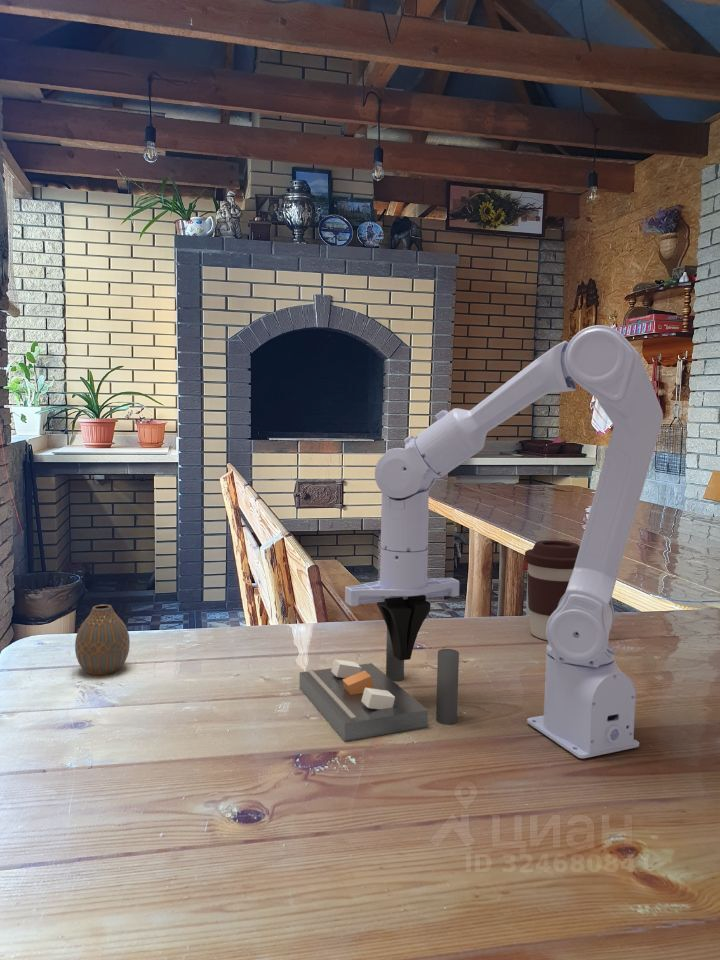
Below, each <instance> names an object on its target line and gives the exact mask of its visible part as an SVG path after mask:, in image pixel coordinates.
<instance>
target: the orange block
mask: <svg viewBox="0 0 720 960" xmlns="http://www.w3.org/2000/svg"><path fill="white" fill-rule="evenodd" d="M342 681H343V684H344V688H345V690H346V691H347V692H348V693H349V694H350V695H353V694H360V693H364V689H365V688H372V689H374V686H373V682H372V678H371V676H370V675H369V674H368V673H367V672H366V671H362V672H360V673H357V674H355V675H352V676H350V677H348V678H345V679H343V680H342Z"/></svg>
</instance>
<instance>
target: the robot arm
mask: <svg viewBox="0 0 720 960" xmlns="http://www.w3.org/2000/svg"><path fill="white" fill-rule="evenodd" d="M576 384H578V385H579V386H580V387H581V388H582V389H583V390H585V391H586V392H587V393H589V394H590V395H592V396H593V398H595V399H596V401H597V403H598V404H599V406H600V407H601V408H602V410H603V412H604V413H605V414H606V416H607V417H608V419H609V420H610V421H611V424H612V431H611V434H610V437H609V442H608V444H607V445H608V446H607V447H606V448H607V449H606V451H605V452H606V453H605V456H604V458H603V459H604V460H603V464H602V467H601V469H600V470H601V471H600V474H599V477H598V481H597V484H596V488H595V491H594V495H593V499H592V503H591V506H590V509H589V512H588V513H589V514H588V516H587V521H586V523H585V526H584V530H583V535H582V538H581V541H580V544H579V546H580V548H579V552H578V555H577V559H576V562H575V566H574V569H573V572H572V575H571V578H570V581H569V583H568V586H567V589H566V592H565V594H564V595H563V596H562V598H561V599H560V601H559V604H558V607H557V609H556V610H555V611H554V612H553V613H552V614H551V616H550V617H549V619H548V621H547V625H546V636H547V640H546V641H547V642H548V644H546V649H545V650H546V653H545V675H544V697H543V698H544V700H543V701H544V703H543V715H539V716H532V717H528V718H527V719H526V723H527V725H530V726H531V727H532V728H534V729H536V730H537V731H538V732H540V733H541V734H543V735H544V736H546V737H548V738H549V739H550V740H552V741H553V742H554V743H556V744H557V745H558V746H560V747H562V748H563V749H565V750H567V751H569V752H570V753H571V754H572V755H574V756H575V757H577V758H579V759H587V758H592V757H597V756H601V755H607V754H611V753H616V752H621V751H626V750H630V749H635V748H639V747H640V742H639V741H638V740H636V739H634V735H635V717H636V701H637V698H636V697H637V696H636V695H637V694H636V692H637V691H636V688H635V684H634V682H633V680H632V679H631V678H630V676H628V675H627V674H626V673H624V672H623V671H622V670H621V669H620V668H619V666H618V665H617V661H616V659H615V658H616V652H615V649H613V648H612V646H611V645H610V643H609V639H610V638H609V637H610V631H611V629H612V627H613V625H614V621H615V610H614V606H613V595H614V594H613V593H614V589H615V586H616V582H617V578H618V575H619V571H620V568H621V565H622V562H623V557H624V554H625V552H626V549H627V548H626V547H627V545H628V542H629V541H628V540H629V537H630V534H631V531H632V527H633V524H634V520H635V517H636V513H637V510H638V507H639V503H640V499H641V497H642V493H643V490H644V485H645V482H646V479H647V475H648V472H649V468H650V465H651V463H652V459H653V456H654V451H655V448H656V444H657V441H658V438H659V434H660V431H661V427H662V424H663V419H664V413H663V409H662V407H661V404H660V402H659V399H658V397H657V395H656V392H655V389H654V386H653V384H652V382H651V379H650V376H649V374H648V371H647V369H646V366H645V364H644V361H643V360H642V356H641V355H640V352H638V351H637V349H636V348H635V347H634V346H633V345H632V344H631V343H630V342H629V341H628V339H627V338H626V337H625V335H623V334H622V333H621V332H620V331H618V329H616V328H613V327H611V326H608V325H603V324H602V325H591V326H588V327H586V328H583V329H581V330H579V331H578V332H577V333H576V334H574V335H573V337H572V338H571V339H570V340H569V342H568V341H567V340H564V341H561V342H560V343H558V344H556V345H555V346H553V347H552V348H550V349H548V350H547V351H546V352H544V353H543V354H542V355H540V356H538V358H536V359H535V360H533V361H532V362H530V363H529V364H528V365H527V366H525V367H524V368H523V369H522V370H520V371H519V372H518V373H516V374H515V375H513V376H512V377H511V378H510V379H509V380H507V381H506V382H505V383H504V384H502V385H501V386H499V387H498V388H497V389H496V390H495V391H493V392H492V393H491V394H489V395H487V397H486V398H484V399H483V400H482V401H480V402H479V403H477V404H476V405H475V406H474V407H472V408H471V409H469V410H468V409H463V408H455V407H454V408H452V409H451V410H450V411H448V410H446V409H442V410H440V411H439V412H437V413H436V414H435V415H434V418H435V419H436V421H434V422H433V423H432V424H430V425H429V426H428V427H426V428H425V429H423V430H422V431H420V432H419V433H418V434H416V435H415V436H413V435H409V436H407V437H406V438H404V440H403V442H404V448H402V447H395V448H394V447H393V448H390V449H387V450H386V451H385V453H384V454H383V455H382V456H381V457H380V458H379V460H378V461H377V463H376V465H375V469H374V479H375V483H376V486H377V487H378V488H379V490H380V491H381V511H380V520H381V521H380V563H379V564H380V565H379V566H380V567H379V568H380V569H379V571H380V573H379V578H380V579H379V580H376V581H371V582H367V583H362V584H357V585H349V586H345V587H344V603H346V604H347V605H348V606H349V607H357V606H359V605H363V604H370V603H376V606H377V607H378V609H379V611H380V613H381V616H382V617H383V620H384V622H385V625H386V629H387V628H388V631H389V635H390V638H391V643H392V648H393V654H394V656H395V657H396V658H397V659H399V660H401V661H402V660H404V661H407V660H411V658H412V654H413V650H414V646H415V643H416V641H417V637H418V634H419V632H420V629H421V627H422V626H423V623H424V621H425V620H426V618H427V617H428V615H429V613H430V612H431V602H430V601H428V600H427V598H434V597H435V598H436V597H446V596H447V597H448V596H450V597H459V596H460V580H458V579H456V578H453V577H433V578H431V577H429V578H428V566H429V563H428V562H429V521H430V519H429V518H430V515H429V514H430V512H429V511H430V510H429V500H430V499H429V495H430V494H429V492H430V489H431V488H432V487H433V486H434V485H435V483H436V480H437V479H441V478H442V477H444V476H446V475H447V474H448V473H450V472H451V471H453V470H454V469H456V468H458V467H459V466H461V464H463V463H464V462H466V461H467V460H469V459H470V458H472V457H473V456H474V455H476V454H478V453H480V452H481V451H482V450H483V449H484V447H485V443H486V438H487V434H488V432H490V431H491V430H493V429H495V428H496V427H498V426H499V425H501V424H502V423H504V422H505V421H508V419H510V418H511V417H513V416H515V415H516V414H518V413H520V412H521V411H522V410H524V409H526V408H528V407H529V406H531V405H532V404H533V403H535V402H536V401H538V400H540V399H542V398H543V397H544V396H546V395H548V394H555V393H556V394H558V393H566V392H576V391H577V387H576Z"/></svg>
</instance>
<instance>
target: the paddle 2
mask: <svg viewBox="0 0 720 960" xmlns="http://www.w3.org/2000/svg"><path fill="white" fill-rule="evenodd" d="M394 700H395V697H394V696H393V695H392V694H391V693H390V692H389V691H386V690H379V689H372V688H365V689H364V693H363V696H362V700H361V701H362V702H363V703H364V704H365V705H366V706H367V707H368V708H372V709H386V708H393V704H394Z"/></svg>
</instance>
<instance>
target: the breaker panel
mask: <svg viewBox="0 0 720 960" xmlns="http://www.w3.org/2000/svg"><path fill="white" fill-rule="evenodd" d="M358 665H359V666H360V667H361V671H360V672H362V671H366V672H367V673H368V674H369V675H370V676H371V678H372V682H373V686H374V689H379V690H386V691H389V692H390V693H391V694H392V695H393V696H394V697H395V700H394V704H393V708H386V709H372V708H368V707H367V706H366V705H365V704H364V703H363V702H362V701H361V700H362V696H363V693H360V694H353V695H350V694H349V693H348V692H347V691H346V690H345V688H344V684H343V681H342V680H343V679H345V678H341V677H336V676H335V675H334V674H333V673H332V672H331V670H332V667H331V668H324V669H316V670H313V669H310V670H307V671H300V672H299V689H300V690H301V691H302V693H303V694H304V695H305V697H307V698H308V699H309V701H310V702H311V703H312V705H314V707H315V708H316V710H318V711H319V713H320V714H321V715H322V717H324V719H325V720H326V721H327V723H329V725H330V726H331V727H332V728H333V729H334V732H336V733H337V734H338V736H340V738H341V739H342V740H343V742H349V741H355V740H356V741H357V740H361V739H366V738H367V739H368V738H372V737H373V738H374V737H379V736H384V735H390V734H396V733H401V732H407V731H413V730H419V729H420V730H421V729H425V728H428V721H429V718H428V716H429V710H428V709H427V708H426V707H425V706H424V705H422V704H421V703H420V702H419V701H418V700H417V699H416V698H414V697H413V696H412V695H411V694H409V693H408V692H406V690H404V689H403V688H402V687H401V686H399V684H397V683H396V681H392V680H391V679H390V678H389V677H388V676H386V673H384V672H383V671H381V670H380V669H379V668H378V667H377V666H376V665H374V664H373V663H372V662H370V663H363V664H358Z"/></svg>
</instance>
